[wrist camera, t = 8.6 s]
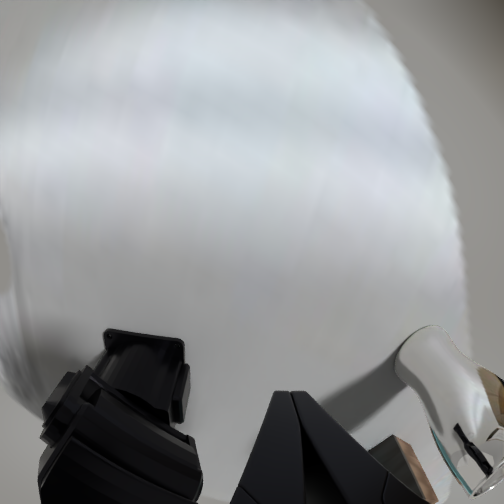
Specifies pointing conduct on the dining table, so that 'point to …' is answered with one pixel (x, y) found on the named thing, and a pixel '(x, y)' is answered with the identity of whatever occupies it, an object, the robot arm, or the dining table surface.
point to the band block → (404, 466)
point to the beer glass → (457, 407)
